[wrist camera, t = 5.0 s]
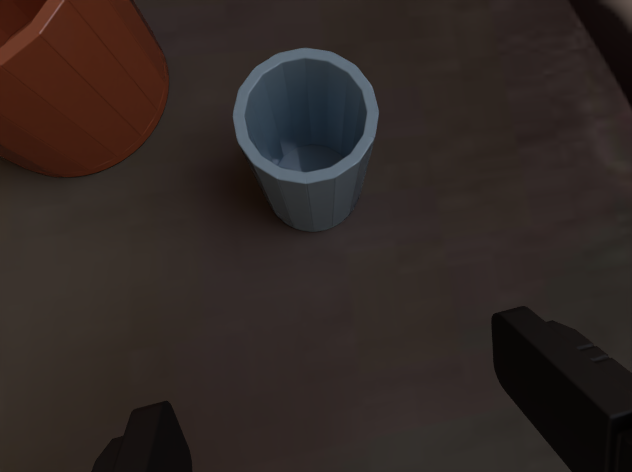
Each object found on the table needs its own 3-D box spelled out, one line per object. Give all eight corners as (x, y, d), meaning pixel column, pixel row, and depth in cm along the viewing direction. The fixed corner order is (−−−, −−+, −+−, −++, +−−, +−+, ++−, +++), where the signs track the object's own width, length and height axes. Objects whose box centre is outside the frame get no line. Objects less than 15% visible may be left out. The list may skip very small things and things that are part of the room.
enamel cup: (351, 239, 27) (365, 194, 17) (257, 223, 28) (219, 169, 18) (366, 149, 28) (388, 59, 18) (276, 135, 29) (249, 38, 19)
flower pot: (143, 192, 28) (28, 112, 17) (-41, 160, 29) (-260, 65, 18) (188, 20, 30) (112, -145, 20) (17, -5, 31) (-147, -177, 20)
